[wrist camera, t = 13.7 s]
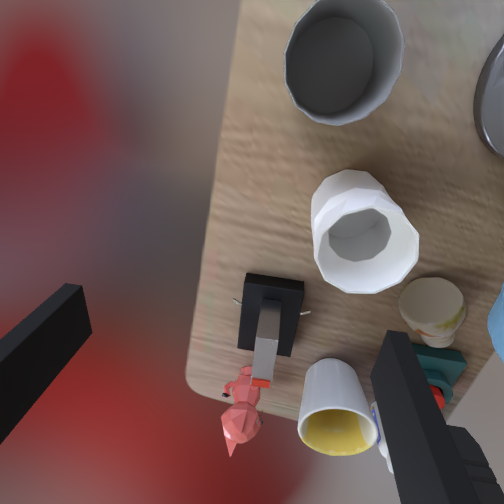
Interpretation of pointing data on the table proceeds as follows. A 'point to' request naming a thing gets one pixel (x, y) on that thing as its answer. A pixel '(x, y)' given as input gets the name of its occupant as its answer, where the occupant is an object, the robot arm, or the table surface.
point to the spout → (266, 343)
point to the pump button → (438, 396)
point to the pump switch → (440, 367)
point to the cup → (343, 59)
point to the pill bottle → (381, 436)
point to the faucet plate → (251, 305)
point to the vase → (360, 234)
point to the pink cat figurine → (241, 411)
